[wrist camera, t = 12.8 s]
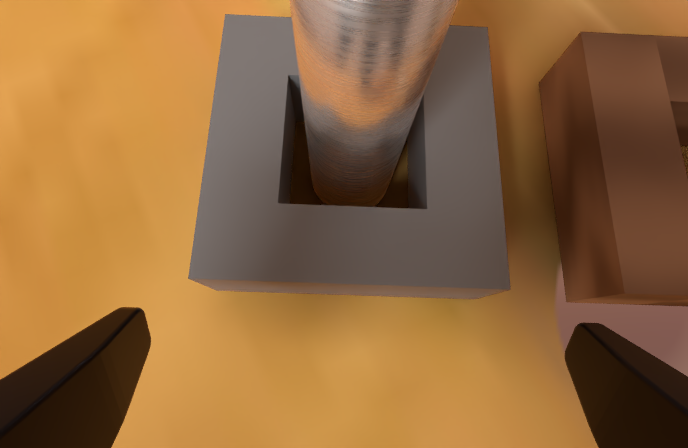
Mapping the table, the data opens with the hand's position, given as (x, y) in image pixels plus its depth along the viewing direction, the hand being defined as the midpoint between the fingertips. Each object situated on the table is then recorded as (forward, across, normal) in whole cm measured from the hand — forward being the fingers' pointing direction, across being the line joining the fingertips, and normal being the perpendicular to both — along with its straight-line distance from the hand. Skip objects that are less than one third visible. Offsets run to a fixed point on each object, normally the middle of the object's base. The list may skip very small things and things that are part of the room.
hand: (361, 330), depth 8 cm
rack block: (+11, 0, +1) cm, 11 cm away
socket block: (+11, -15, +1) cm, 19 cm away
